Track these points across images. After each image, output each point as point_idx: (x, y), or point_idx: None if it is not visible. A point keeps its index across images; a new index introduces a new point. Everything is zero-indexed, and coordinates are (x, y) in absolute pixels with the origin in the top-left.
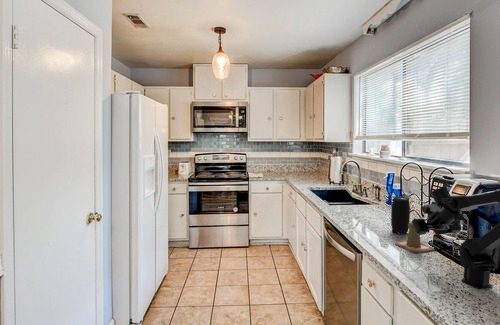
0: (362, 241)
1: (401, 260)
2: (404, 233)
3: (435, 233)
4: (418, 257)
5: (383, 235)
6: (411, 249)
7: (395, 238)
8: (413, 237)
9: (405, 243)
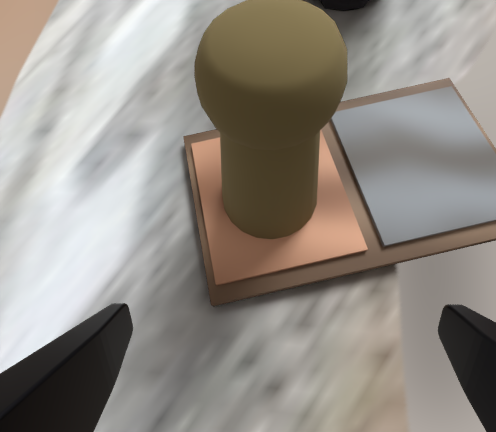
0: (33, 92)
1: None
2: (353, 3)
3: (444, 318)
4: (180, 382)
5: None
6: (210, 254)
7: None
8: (239, 186)
9: None
